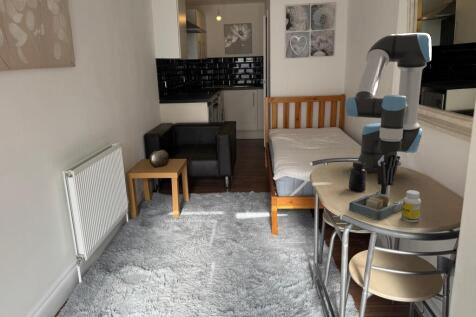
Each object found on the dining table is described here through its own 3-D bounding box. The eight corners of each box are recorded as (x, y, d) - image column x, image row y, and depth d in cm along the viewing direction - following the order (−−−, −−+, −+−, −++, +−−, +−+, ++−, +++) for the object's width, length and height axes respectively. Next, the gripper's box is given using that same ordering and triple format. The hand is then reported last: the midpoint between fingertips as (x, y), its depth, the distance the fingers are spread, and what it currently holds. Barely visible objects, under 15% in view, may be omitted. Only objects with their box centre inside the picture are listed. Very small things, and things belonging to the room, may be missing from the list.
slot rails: (382, 195, 144) (382, 190, 144) (412, 204, 135) (412, 198, 135) (362, 204, 136) (363, 197, 135) (393, 213, 127) (393, 207, 126)
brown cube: (377, 204, 135) (378, 194, 134) (387, 208, 132) (388, 197, 131) (371, 207, 132) (372, 197, 131) (381, 210, 129) (382, 200, 128)
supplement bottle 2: (398, 216, 125) (401, 189, 122) (413, 215, 125) (416, 189, 123) (406, 222, 119) (409, 195, 117) (422, 222, 120) (425, 194, 117)
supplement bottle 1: (366, 192, 148) (368, 164, 145) (349, 191, 149) (351, 163, 146) (364, 187, 155) (366, 160, 152) (347, 186, 156) (349, 159, 153)
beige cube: (371, 207, 132) (372, 197, 131) (381, 210, 129) (382, 200, 128) (365, 210, 130) (366, 200, 129) (375, 213, 127) (376, 203, 126)
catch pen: (365, 203, 137) (366, 195, 136) (395, 212, 128) (396, 204, 127) (349, 210, 130) (349, 202, 129) (379, 220, 121) (380, 212, 121)
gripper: (389, 135, 134) (383, 195, 140) (370, 140, 126) (365, 203, 132) (409, 138, 129) (402, 200, 135) (391, 143, 121) (384, 209, 127)
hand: (384, 201), depth 133 cm, fingers closed
